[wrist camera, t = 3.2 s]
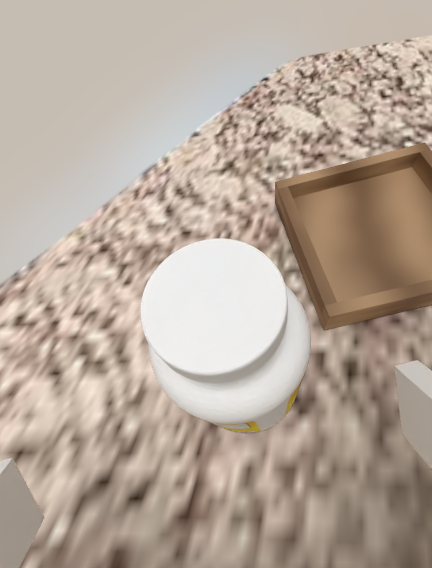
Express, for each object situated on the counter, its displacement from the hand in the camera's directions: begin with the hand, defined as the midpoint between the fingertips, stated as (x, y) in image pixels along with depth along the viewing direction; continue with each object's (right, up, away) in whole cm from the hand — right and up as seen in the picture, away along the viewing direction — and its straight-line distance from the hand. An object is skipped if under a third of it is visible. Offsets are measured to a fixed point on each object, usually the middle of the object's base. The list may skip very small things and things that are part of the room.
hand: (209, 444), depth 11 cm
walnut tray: (+12, +9, +14) cm, 20 cm away
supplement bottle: (+2, -1, +11) cm, 11 cm away
